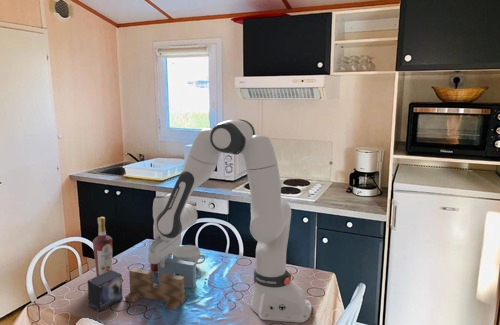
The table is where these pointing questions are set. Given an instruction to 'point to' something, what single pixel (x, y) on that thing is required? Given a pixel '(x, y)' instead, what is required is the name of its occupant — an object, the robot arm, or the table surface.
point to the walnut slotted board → (157, 288)
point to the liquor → (102, 249)
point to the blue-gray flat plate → (180, 270)
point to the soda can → (154, 266)
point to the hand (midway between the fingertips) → (165, 264)
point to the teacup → (188, 254)
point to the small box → (104, 290)
